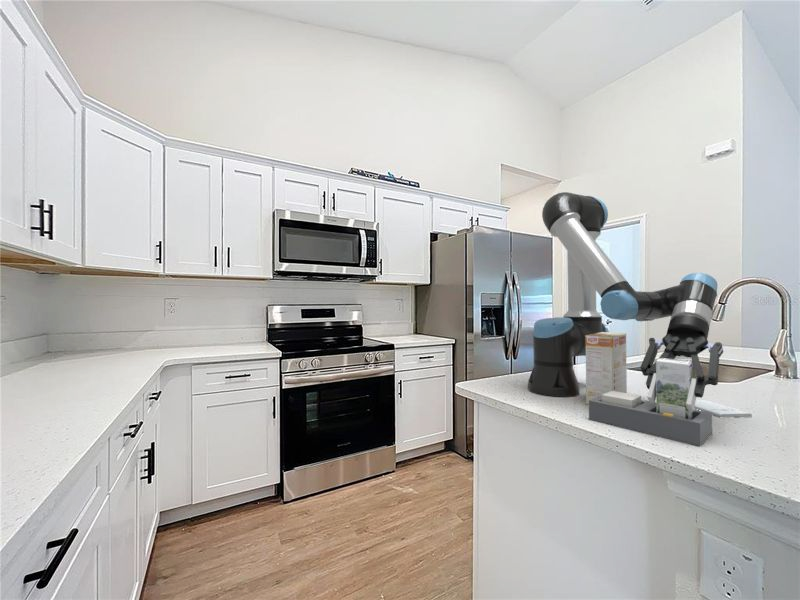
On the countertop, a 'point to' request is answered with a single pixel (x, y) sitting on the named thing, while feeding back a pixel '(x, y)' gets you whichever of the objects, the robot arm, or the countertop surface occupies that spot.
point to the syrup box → (673, 386)
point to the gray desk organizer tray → (649, 418)
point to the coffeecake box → (605, 364)
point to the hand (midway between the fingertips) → (669, 404)
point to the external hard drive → (719, 409)
